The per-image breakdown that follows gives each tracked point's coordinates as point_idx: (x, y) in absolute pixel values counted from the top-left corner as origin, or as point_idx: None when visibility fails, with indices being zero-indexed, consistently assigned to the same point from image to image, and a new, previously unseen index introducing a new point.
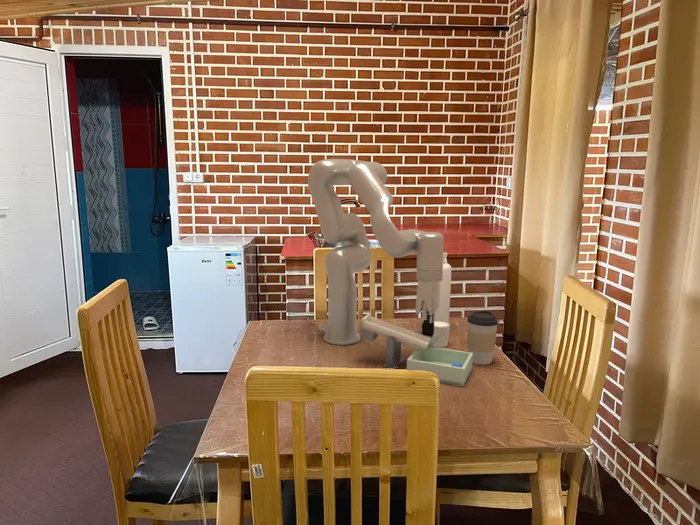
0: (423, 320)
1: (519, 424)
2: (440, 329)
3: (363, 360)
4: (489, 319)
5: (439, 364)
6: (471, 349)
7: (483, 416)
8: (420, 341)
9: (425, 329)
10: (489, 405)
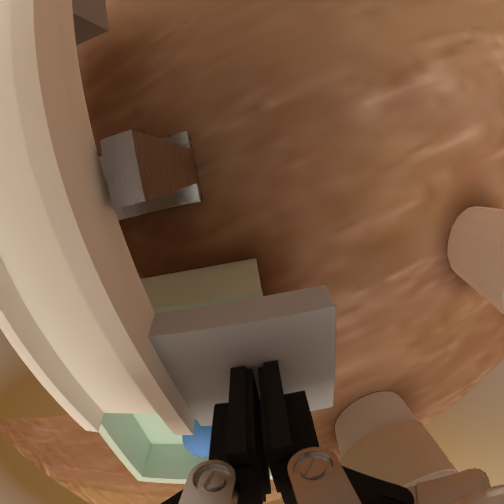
0: (165, 501)
1: (104, 495)
2: (497, 296)
3: (104, 50)
4: None
5: (103, 432)
6: (350, 448)
7: (77, 466)
8: (70, 412)
9: (214, 431)
10: (117, 475)
